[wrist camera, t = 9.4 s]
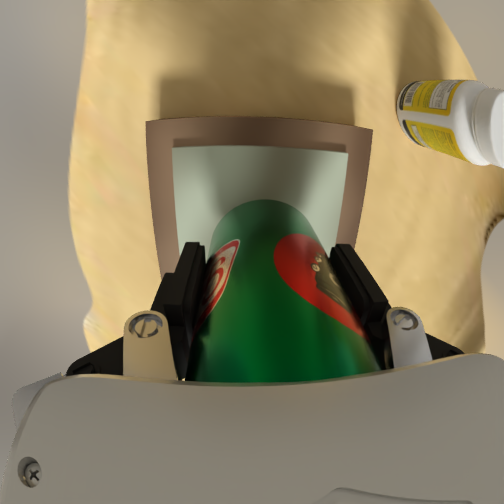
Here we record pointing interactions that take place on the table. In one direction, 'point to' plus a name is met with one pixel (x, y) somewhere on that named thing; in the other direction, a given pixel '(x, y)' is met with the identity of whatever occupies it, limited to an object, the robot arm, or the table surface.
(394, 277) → the table surface
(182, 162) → the walnut picture frame
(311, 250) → the soda can
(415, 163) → the table surface
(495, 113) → the supplement bottle
